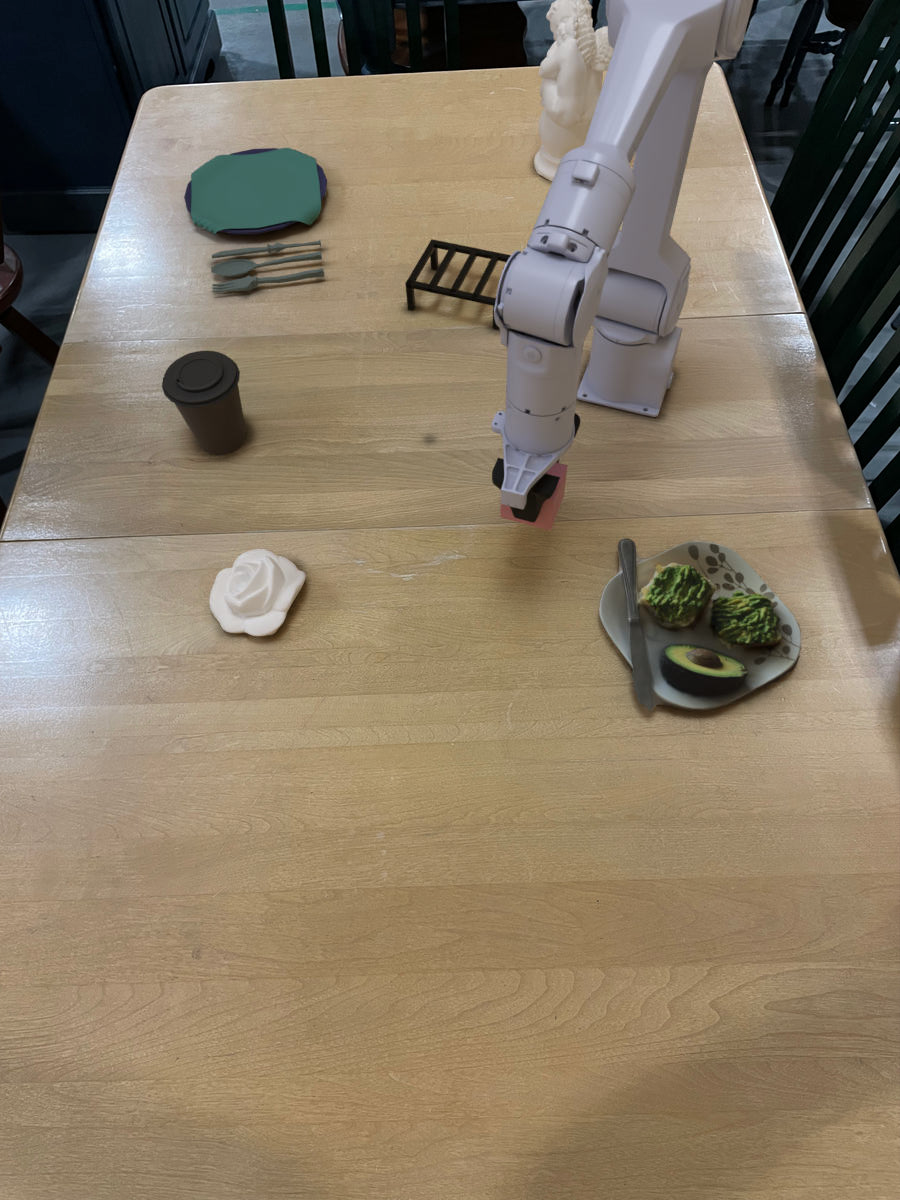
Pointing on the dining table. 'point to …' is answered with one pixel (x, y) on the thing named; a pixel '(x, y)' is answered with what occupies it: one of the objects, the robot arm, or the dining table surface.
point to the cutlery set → (257, 206)
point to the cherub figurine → (569, 82)
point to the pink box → (549, 506)
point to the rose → (255, 593)
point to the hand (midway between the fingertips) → (533, 496)
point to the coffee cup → (208, 399)
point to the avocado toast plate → (697, 626)
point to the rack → (454, 290)
